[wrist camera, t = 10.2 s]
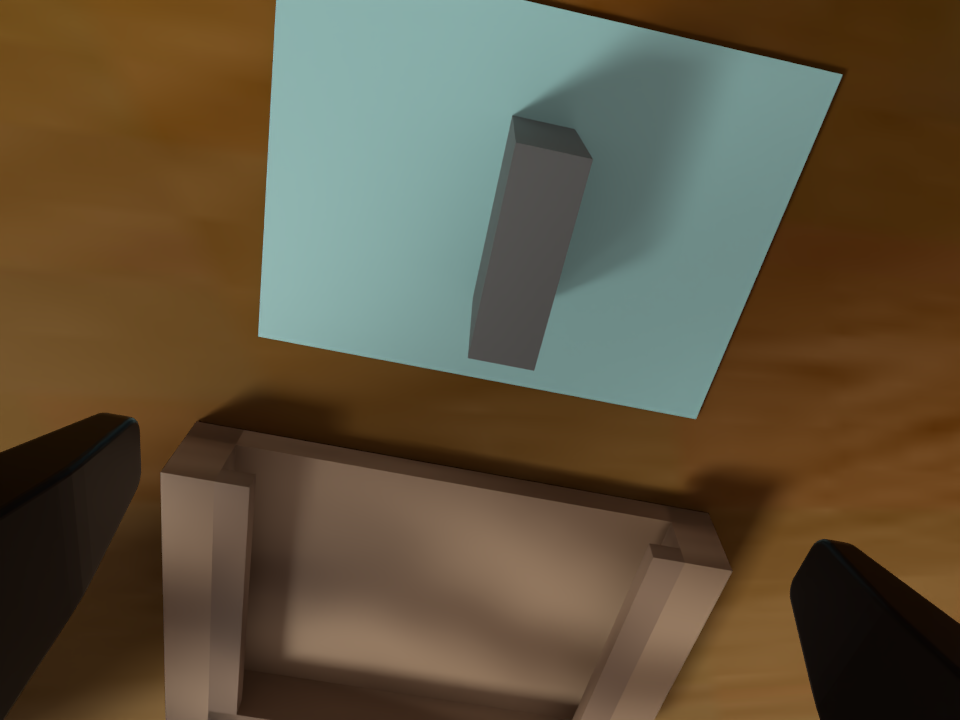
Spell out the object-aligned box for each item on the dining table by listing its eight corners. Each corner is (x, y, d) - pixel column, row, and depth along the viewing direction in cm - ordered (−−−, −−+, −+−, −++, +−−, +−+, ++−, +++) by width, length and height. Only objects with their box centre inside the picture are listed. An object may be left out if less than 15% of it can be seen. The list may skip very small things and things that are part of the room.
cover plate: (689, 405, 21) (732, 494, 18) (266, 325, 20) (212, 401, 17) (828, 71, 17) (928, 93, 13) (288, -55, 16) (221, -73, 12)
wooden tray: (604, 730, 28) (614, 794, 26) (193, 668, 27) (165, 730, 25) (708, 513, 23) (732, 571, 20) (196, 421, 21) (160, 472, 19)
